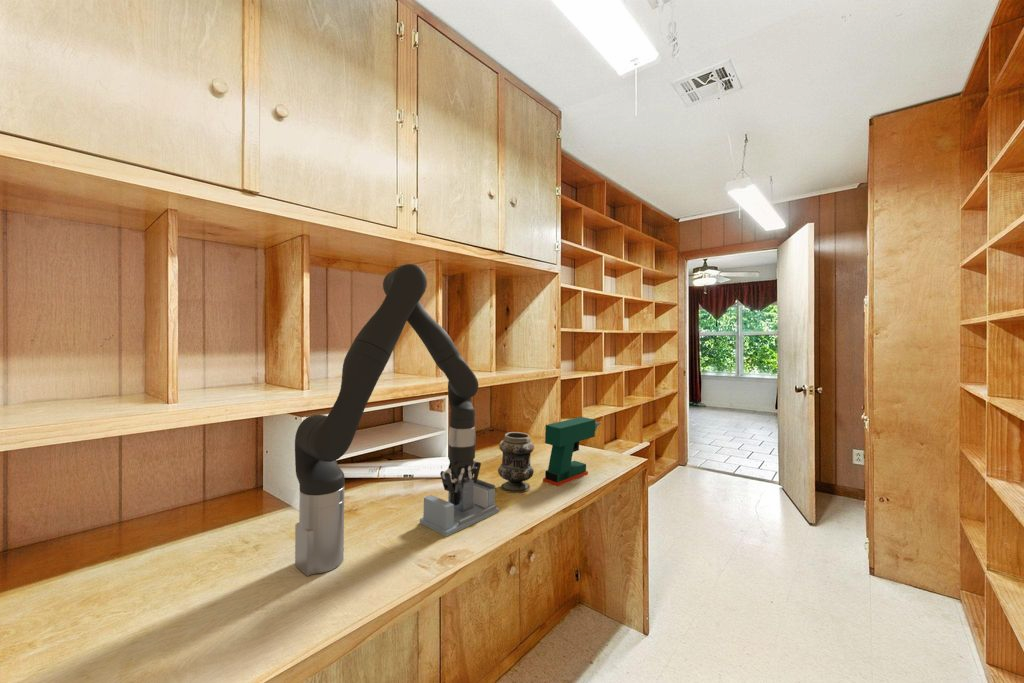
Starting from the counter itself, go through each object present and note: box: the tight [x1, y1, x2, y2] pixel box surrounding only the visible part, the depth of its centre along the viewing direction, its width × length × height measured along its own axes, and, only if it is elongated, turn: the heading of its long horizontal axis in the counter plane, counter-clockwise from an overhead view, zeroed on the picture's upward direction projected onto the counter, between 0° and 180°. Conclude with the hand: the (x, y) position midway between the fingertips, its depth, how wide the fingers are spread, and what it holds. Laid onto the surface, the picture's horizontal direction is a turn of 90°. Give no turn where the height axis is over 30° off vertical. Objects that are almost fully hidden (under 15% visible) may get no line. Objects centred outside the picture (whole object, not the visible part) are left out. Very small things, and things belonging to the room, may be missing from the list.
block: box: [447, 478, 474, 512], centre depth 120 cm, size 4×6×8 cm, turn 50°
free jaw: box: [473, 476, 496, 509], centre depth 127 cm, size 3×10×7 cm, turn 50°
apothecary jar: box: [497, 431, 535, 494], centre depth 144 cm, size 12×12×18 cm
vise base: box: [419, 494, 500, 537], centre depth 120 cm, size 20×11×7 cm, turn 140°
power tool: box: [542, 416, 602, 487], centre depth 159 cm, size 32×7×20 cm, turn 136°
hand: (460, 501), depth 121 cm, fingers closed on block, 4 cm apart
